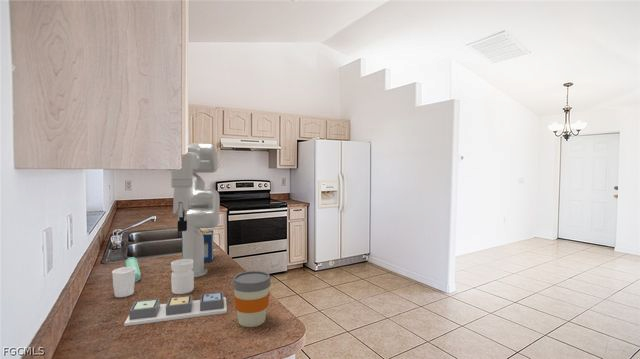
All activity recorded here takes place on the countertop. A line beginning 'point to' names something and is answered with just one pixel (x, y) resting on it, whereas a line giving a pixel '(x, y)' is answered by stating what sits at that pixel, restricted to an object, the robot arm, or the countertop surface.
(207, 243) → the protein box
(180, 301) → the button
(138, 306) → the button
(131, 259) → the container
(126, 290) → the white cup
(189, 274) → the vase
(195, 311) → the button panel
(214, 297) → the button
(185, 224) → the robot arm
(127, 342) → the countertop surface
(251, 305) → the reusable coffee cup
